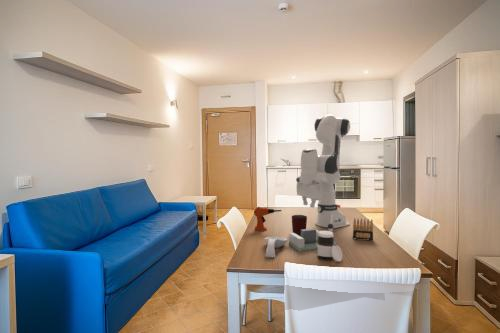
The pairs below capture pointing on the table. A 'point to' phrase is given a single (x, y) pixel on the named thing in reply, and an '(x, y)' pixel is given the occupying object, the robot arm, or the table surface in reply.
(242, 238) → the table surface
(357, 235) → the ammunition clip
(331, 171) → the robot arm
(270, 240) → the spoon rest
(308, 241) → the steel block
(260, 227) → the toy drill
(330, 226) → the sliding jaw
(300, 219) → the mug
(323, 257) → the spread jar
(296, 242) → the vise
